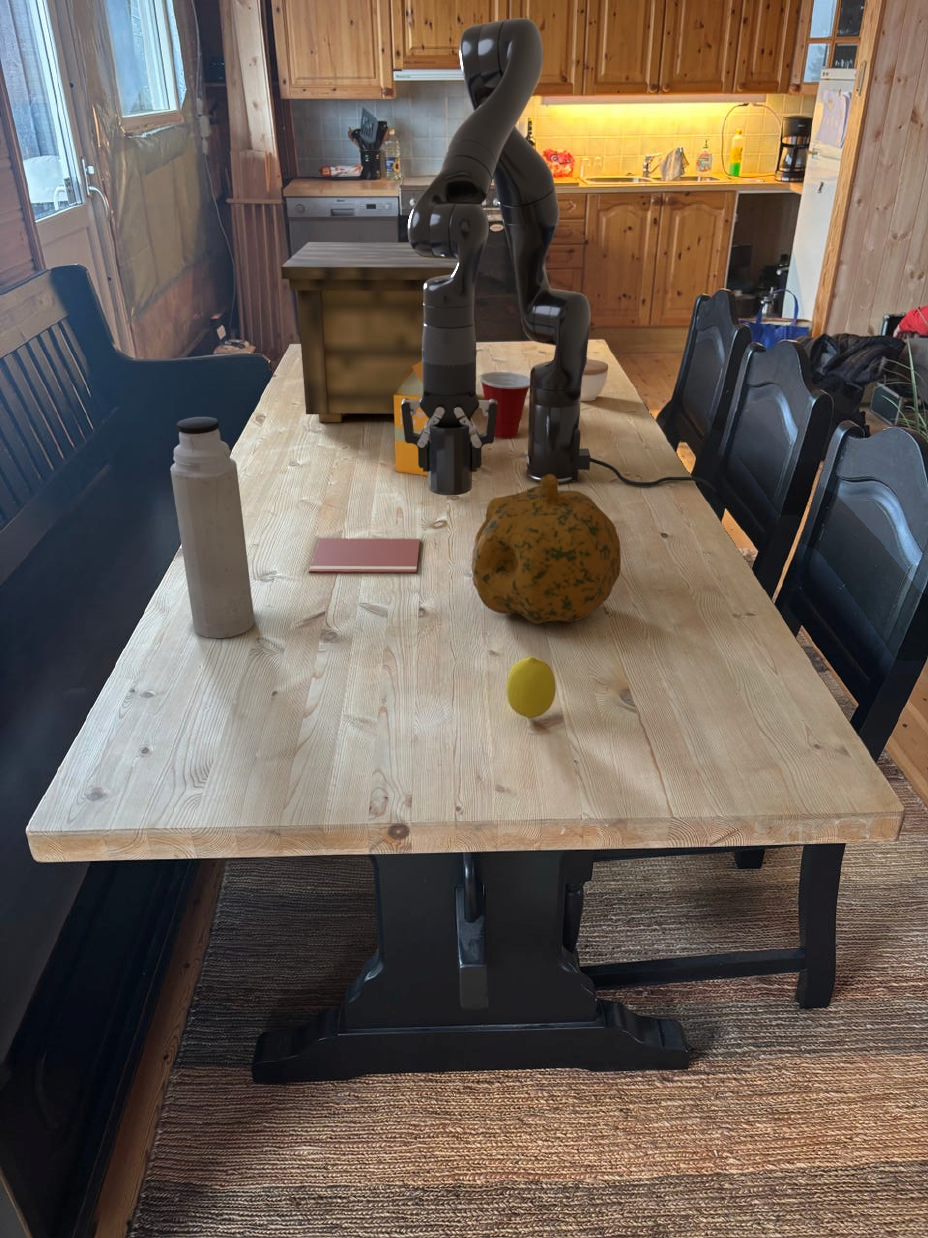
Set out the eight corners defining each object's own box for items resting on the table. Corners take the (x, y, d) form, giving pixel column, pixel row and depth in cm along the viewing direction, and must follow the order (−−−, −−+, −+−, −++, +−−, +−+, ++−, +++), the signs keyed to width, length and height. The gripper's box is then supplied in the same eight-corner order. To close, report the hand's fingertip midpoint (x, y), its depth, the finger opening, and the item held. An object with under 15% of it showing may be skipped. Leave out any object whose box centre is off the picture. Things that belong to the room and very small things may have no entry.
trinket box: (550, 397, 230) (552, 356, 225) (580, 388, 236) (583, 349, 232) (585, 406, 223) (587, 365, 218) (615, 398, 229) (618, 357, 225)
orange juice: (395, 471, 185) (391, 364, 176) (414, 456, 192) (412, 353, 183) (433, 476, 182) (431, 368, 173) (451, 461, 190) (451, 357, 180)
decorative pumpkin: (591, 560, 148) (597, 435, 137) (634, 637, 131) (646, 502, 119) (459, 574, 145) (454, 449, 134) (486, 656, 128) (483, 519, 117)
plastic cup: (526, 444, 199) (528, 385, 193) (474, 440, 201) (474, 382, 195) (534, 428, 209) (536, 371, 203) (484, 425, 210) (484, 369, 205)
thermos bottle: (214, 606, 137) (187, 408, 123) (265, 615, 134) (243, 414, 121) (182, 632, 130) (149, 426, 117) (234, 642, 128) (208, 433, 114)
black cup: (472, 480, 149) (472, 415, 144) (471, 495, 143) (472, 429, 138) (429, 479, 149) (428, 415, 144) (427, 495, 143) (426, 428, 138)
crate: (318, 384, 239) (308, 242, 224) (461, 385, 239) (462, 242, 223) (294, 428, 208) (281, 266, 193) (459, 429, 208) (459, 267, 192)
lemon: (502, 705, 115) (504, 646, 111) (549, 703, 115) (552, 644, 111) (508, 732, 110) (510, 671, 106) (557, 730, 110) (561, 669, 106)
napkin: (420, 540, 157) (420, 538, 156) (416, 573, 146) (416, 571, 146) (319, 540, 157) (319, 538, 156) (308, 572, 146) (308, 570, 146)
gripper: (500, 350, 140) (498, 462, 148) (399, 349, 140) (402, 461, 148) (501, 363, 133) (499, 479, 141) (395, 362, 133) (399, 478, 141)
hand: (449, 469), depth 145 cm, fingers closed on black cup, 6 cm apart
